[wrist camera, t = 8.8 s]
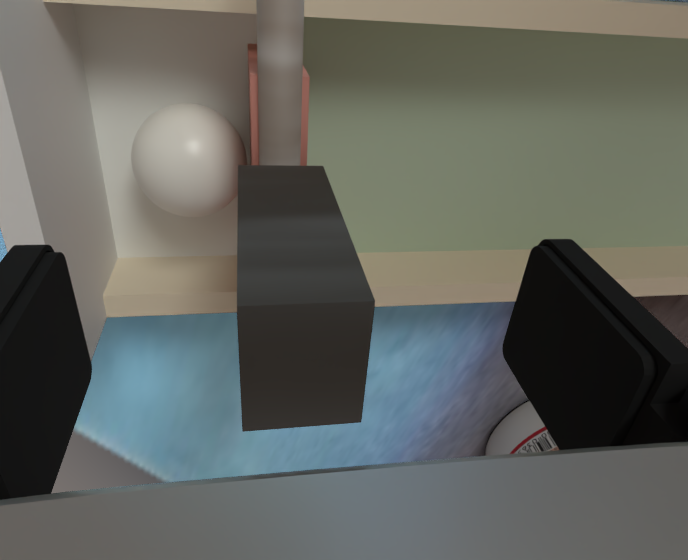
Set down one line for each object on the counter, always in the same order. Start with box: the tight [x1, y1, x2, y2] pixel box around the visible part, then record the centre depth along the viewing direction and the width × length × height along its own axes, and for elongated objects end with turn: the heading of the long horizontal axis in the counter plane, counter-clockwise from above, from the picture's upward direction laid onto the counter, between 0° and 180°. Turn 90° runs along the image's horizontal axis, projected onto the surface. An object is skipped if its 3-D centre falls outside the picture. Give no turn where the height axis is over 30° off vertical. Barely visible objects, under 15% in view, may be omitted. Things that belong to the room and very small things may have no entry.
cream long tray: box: [0, 0, 688, 360], centre depth 20 cm, size 12×32×8 cm, turn 86°
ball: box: [131, 103, 247, 217], centre depth 19 cm, size 4×4×4 cm
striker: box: [237, 0, 375, 431], centre depth 15 cm, size 16×2×13 cm, turn 176°
